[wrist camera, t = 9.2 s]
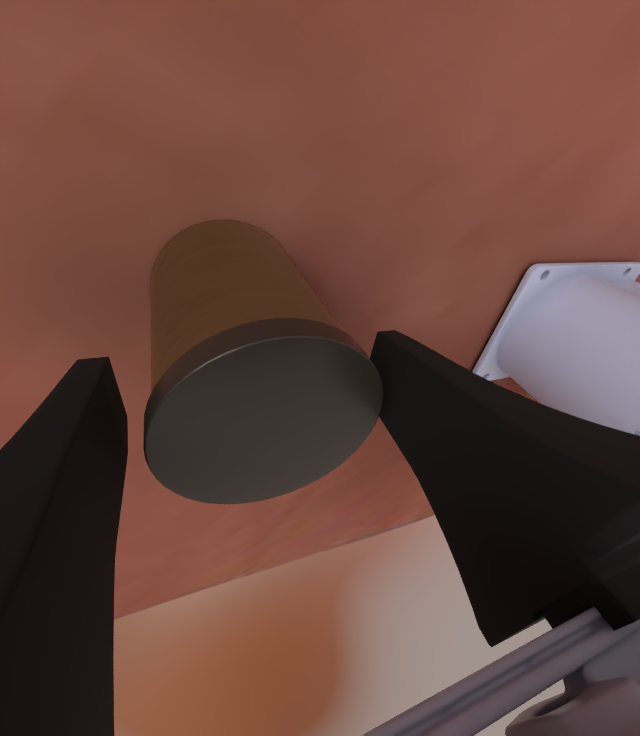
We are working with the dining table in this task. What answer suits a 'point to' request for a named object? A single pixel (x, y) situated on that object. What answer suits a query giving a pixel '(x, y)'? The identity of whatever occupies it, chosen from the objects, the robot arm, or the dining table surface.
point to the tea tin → (248, 371)
